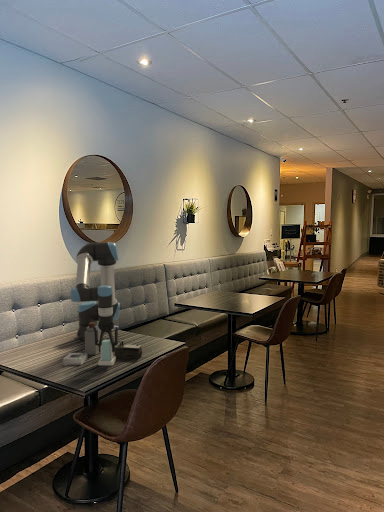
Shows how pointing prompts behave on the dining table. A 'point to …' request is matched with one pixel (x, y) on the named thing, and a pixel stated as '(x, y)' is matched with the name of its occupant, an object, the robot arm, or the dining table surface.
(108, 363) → the holster
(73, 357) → the block
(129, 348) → the camera
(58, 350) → the dining table surface
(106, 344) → the plug
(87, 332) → the perfume bottle
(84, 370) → the dining table surface
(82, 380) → the dining table surface
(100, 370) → the dining table surface
